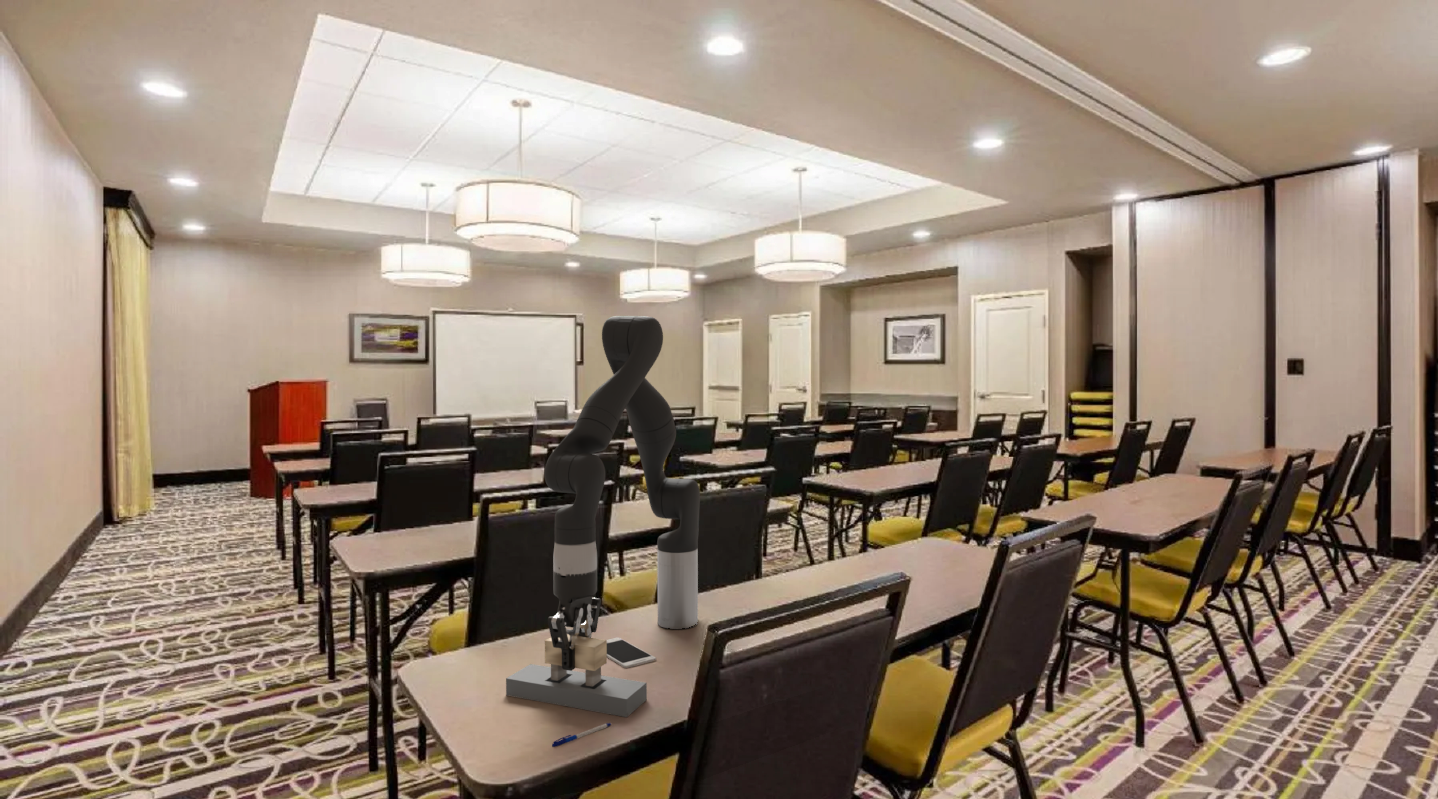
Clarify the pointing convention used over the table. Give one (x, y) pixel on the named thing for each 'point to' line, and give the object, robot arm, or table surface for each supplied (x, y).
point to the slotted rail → (577, 690)
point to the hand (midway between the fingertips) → (575, 664)
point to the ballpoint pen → (578, 735)
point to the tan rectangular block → (579, 658)
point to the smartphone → (626, 653)
